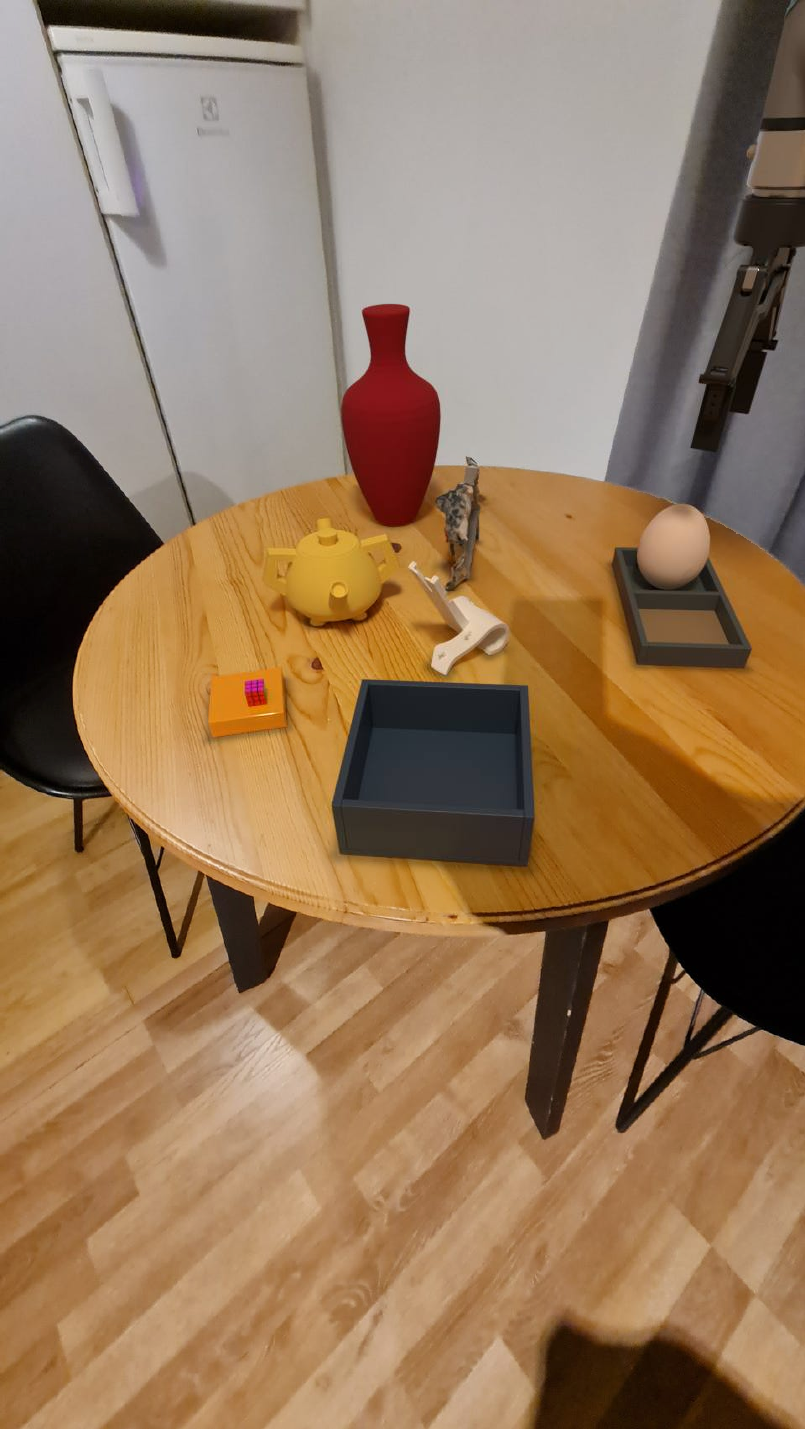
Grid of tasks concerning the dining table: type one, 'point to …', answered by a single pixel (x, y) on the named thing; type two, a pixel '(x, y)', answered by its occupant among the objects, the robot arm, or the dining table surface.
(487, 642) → the plastic part
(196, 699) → the dining table surface
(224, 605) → the dining table surface
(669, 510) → the egg
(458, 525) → the grey mottled flat piece
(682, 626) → the tray
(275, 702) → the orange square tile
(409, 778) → the tub
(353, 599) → the teapot
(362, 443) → the vase
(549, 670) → the dining table surface
